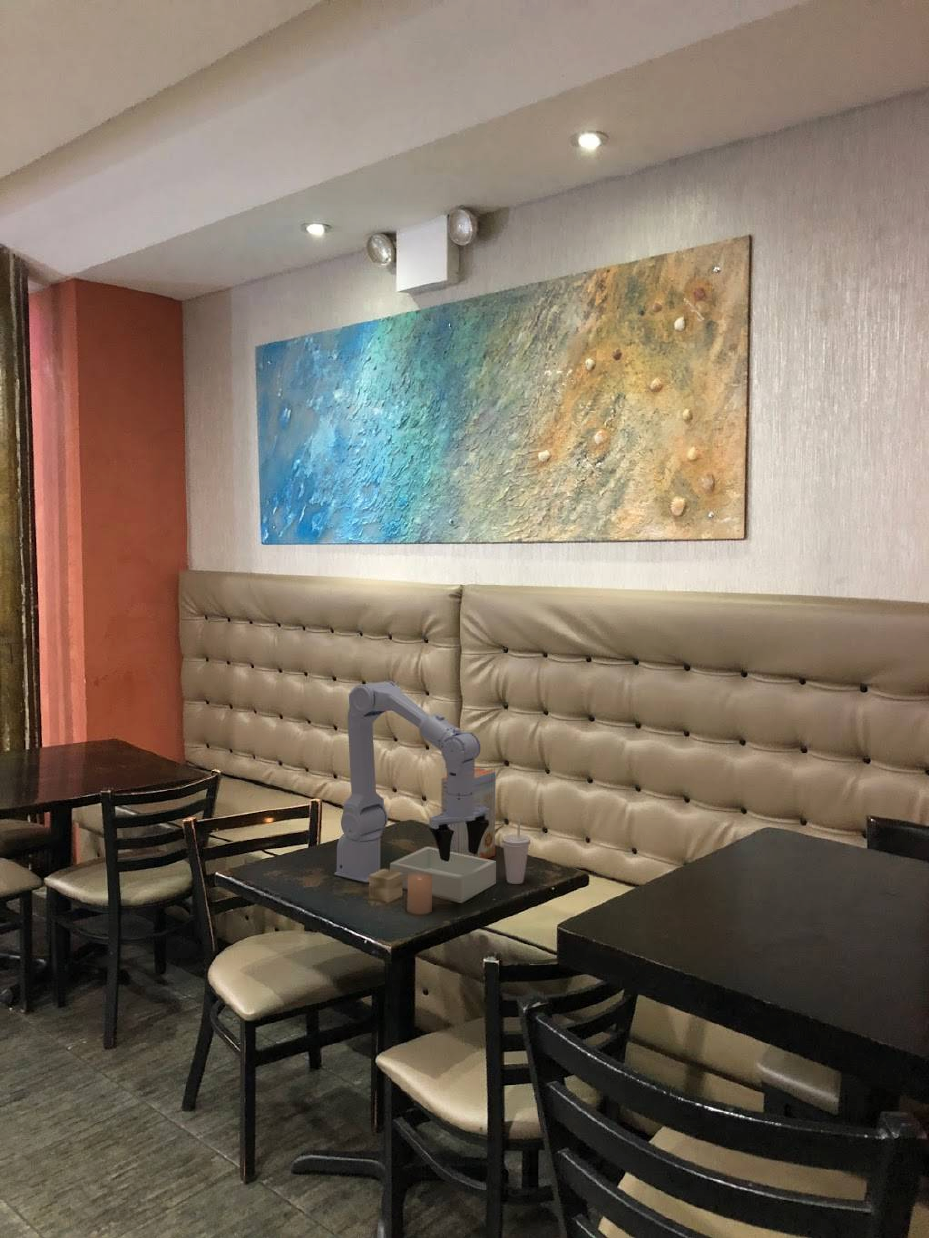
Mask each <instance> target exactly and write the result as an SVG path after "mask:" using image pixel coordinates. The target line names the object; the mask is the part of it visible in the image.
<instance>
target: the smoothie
mask: <svg viewBox="0 0 929 1238" xmlns="http://www.w3.org/2000/svg"><path fill="white" fill-rule="evenodd" d="M516 830H517V831H516V832H517V834H513V833H512V834H508V835H507V834H506V835H504V836H502V837H501V844H502V846H503V847H502V848H503V856H504V857H503V858H504V865H505V874H506V875H505V877H506V881H507V883H509V884H512V885H513V884H515V885H517V884H518V885H519V884H522V883H524V879H525V873H526V866H527V859H528V854H529V845H531V838H530V837H529V836H527V835H524V834H521V819H520V818H518V819H517V829H516Z"/></svg>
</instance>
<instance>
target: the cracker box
mask: <svg viewBox="0 0 929 1238" xmlns="http://www.w3.org/2000/svg"><path fill="white" fill-rule="evenodd" d="M446 795H447V776H446V777H442V778H441V813H444V812H446ZM477 807H486V808H489V817H488V818H485V819H486V820H489V826H488V827H487V829H486V830H485V832H484V834H483V837H482V839H481V842H480V846H479V849H478V853H477V854H473V853H470V852H469V849H468V831H467V825H466V821H465V822H460V823H455V824H451V825H448V827H449V829H450V830H453V831H454V833H453V836H452V840H451V846H450V852H455V853H460V854H464V855H469V856H474V857H479V858H483V859H489V858H491V857H494V856H495V855H496V771H495V770H491V769H490V770H489V769H485V768H479V767H478V768H477V767H476V768H475V775H474V808H477Z"/></svg>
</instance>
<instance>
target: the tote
mask: <svg viewBox="0 0 929 1238" xmlns="http://www.w3.org/2000/svg"><path fill="white" fill-rule="evenodd" d="M389 870H391V871H396V872H400V873H403V885H402V890H406V891H408V875H409V874H411V873H415V872H425V873H429V874H431V875H432V897H435V898H439V899H442V900H447V901H451V902H455V903H459V904H463V903H465V902H466V901H467V900H470V899H471V898H474V896H477V895H478V894H479V893H482V892H483V891H485V890H487V889H488V888H490V887H492V886H494V885H495V884H497V873H496V872H497V860H491V859H489V858H487V859H483V858H479V857H474V856H469V855H464V854H460V853H455V852H450V859H449V861H447V862H446V861H444V860H441V859H440V854H439V850H438V848H436V847H431V846H424V847H422V848H421V849H418V850H417V851H413V852H412V853H410V854H407V855H405V856H403V857H401V858H399V859H397V860H394V861H392V862H390V863H389Z"/></svg>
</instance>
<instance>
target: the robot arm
mask: <svg viewBox="0 0 929 1238" xmlns="http://www.w3.org/2000/svg"><path fill="white" fill-rule="evenodd" d="M348 701H349V702H348V703H349V706H348V707H349V708H348V711H347V732H348V735H347V736H348V753H349V771H350V772H349V773H350V790H351V794H350V795H349V797H348V798H347V800H345V802H344V803H343V804H342V815H341V817H340V818H341V819H340V827H341V830H342V832H343V834H342V835H341V836H340V837H339V838H338V841H337V843H336V844H337V846H336V871H335V872H334V875H335V876H338V877H343V878H346V879H349V880H354V881H357V882H358V881H359V882H361V883H365V884H368V883H369V875H371V874H373V873H375V872H378V871H380V870H382V869H383V868H382V869H381V836H382V835H383V830H384V829H385V828H386V827H387V825H388V820H389V816H388V812H387V810H386V807H385V803H384V802H385V801H384V798H383V797H382V796H381V795H379V794H378V793H377V787H376V786H377V785H376V768H375V767H376V765H375V746H374V731H373V729H374V727H373V725H374V722H375V721H377V720H378V718H379V717H381V715H382V714H383V713H386V712H388V711H389V712H393V713H396V715H398V716H400V717H402V718H403V719H405V720H406V721H408V722H410V723H411V724H412V725H414V726H416V727H417V728H418V729H419V735H420V736H421V737H422V738H423V739H424V740H426V741H427V742H428V743H430V744H431V745H432V746H434V747H435V748H436V749H437V750H439V751H440V752H441V756H442V758H443V760H444V762H445V769H446V777H447V795H446V812H444V813H442V812H441V813H440V814H437V815H435V816H431V817H429V818H428V819H429V830H430V832H431V833H432V835H433V837H434V838H433V839H434V840H435V843H436V846H437V849H438V850H439V854H440V859H441V860H444V861H446V862H447V861H449V859H450V846H451V840H452V836H453V833H454V831H453V830H450V829H449V827H448V825H451V824H455V823H460V822H465V821H466V825H467V831H468V849H469V852H470V853H473V854H477V853H478V849H479V846H480V842H481V839H482V837H483V834H484V832H485V830H486V829H487V827H488V826H489V820H486V819H485V818H488V817H489V808H486V807H477V808H474V775H475V769H476V768H475V767H476V766H475V765H476V759H477V758H478V757H479V756H480V753H481V742H480V740H479V738H478V736H476V735H475V734H474V733H473V732H470V731H466V732H463V731H461V729H460V728H459V727H458V726H457V727H456V726H454V724H453V725H452V724H451V723H450V722H449V721H447V720H446V719H445V715H443V714H441V713H439V714H437V713H432V714H431V713H430V714H428V713H427V711H425V710H424V709H423V708H421V706H419V705H418V704H417V703H416V702H414V700H412V699H411V698H409V697H408V696H407V695H406V694H405V693H403V691H402V687H401V686H399V685H396V684H395V682H393V681H391V680H383V681H379V682H374V683H367V684H364V683H362V684H357V685H356V686H355V687H354V688H352V690H351V691H350V692H349V693H348Z"/></svg>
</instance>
